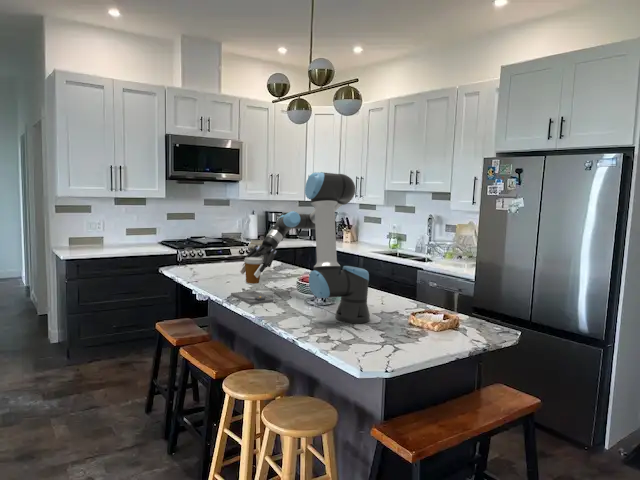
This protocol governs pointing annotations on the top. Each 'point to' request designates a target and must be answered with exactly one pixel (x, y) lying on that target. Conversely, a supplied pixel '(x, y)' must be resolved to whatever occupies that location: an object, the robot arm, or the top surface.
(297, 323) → the top surface
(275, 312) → the top surface
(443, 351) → the top surface
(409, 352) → the top surface
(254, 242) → the grey stone vase
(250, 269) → the disposable coffee cup
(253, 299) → the mug warmer
